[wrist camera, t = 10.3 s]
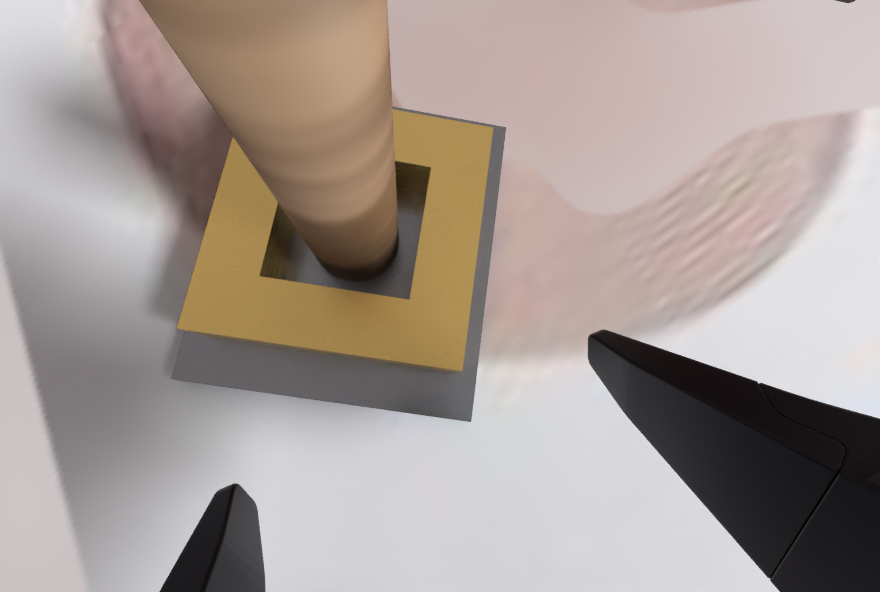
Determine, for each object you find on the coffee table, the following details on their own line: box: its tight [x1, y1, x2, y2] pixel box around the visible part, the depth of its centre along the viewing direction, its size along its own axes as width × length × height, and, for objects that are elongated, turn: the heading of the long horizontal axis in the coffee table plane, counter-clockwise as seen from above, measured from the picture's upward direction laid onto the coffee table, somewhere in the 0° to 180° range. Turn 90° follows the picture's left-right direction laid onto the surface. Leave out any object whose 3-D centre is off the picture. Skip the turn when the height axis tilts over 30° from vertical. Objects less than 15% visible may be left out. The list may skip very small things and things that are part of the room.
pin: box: [139, 0, 399, 282], centre depth 12 cm, size 4×4×14 cm
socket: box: [171, 107, 506, 422], centre depth 18 cm, size 15×13×3 cm
